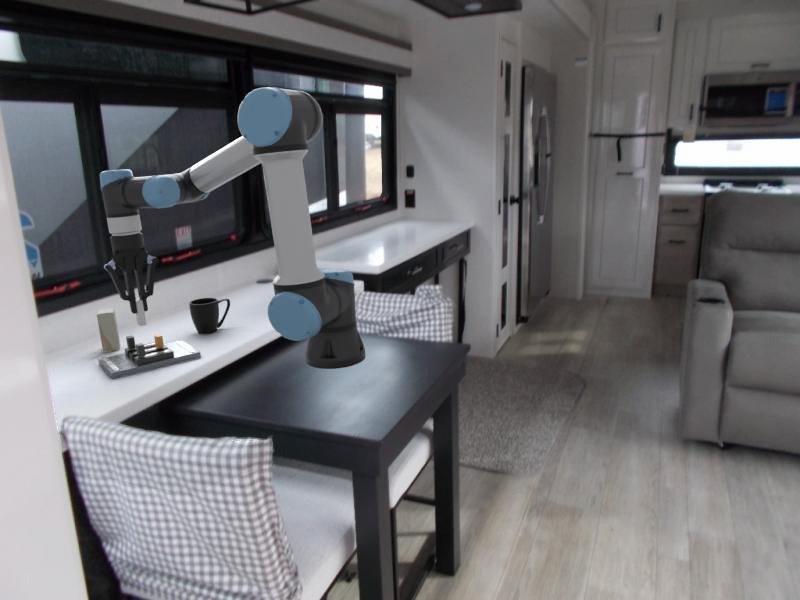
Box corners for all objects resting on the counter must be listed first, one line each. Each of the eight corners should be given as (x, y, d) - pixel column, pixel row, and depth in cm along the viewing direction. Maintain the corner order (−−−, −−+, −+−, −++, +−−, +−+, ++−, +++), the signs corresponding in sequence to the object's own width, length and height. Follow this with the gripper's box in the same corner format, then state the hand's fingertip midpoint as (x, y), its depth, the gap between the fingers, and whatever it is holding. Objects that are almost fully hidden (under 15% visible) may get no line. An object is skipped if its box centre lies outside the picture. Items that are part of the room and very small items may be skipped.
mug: (237, 329, 188) (234, 298, 185) (198, 337, 181) (194, 306, 179) (227, 323, 194) (224, 294, 192) (189, 331, 188) (185, 301, 185)
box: (104, 347, 176) (97, 309, 173) (120, 345, 178) (114, 307, 175) (102, 352, 171) (96, 314, 169) (119, 350, 173) (113, 312, 170)
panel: (200, 357, 164) (197, 334, 162) (112, 378, 151) (108, 354, 149) (183, 345, 174) (180, 323, 173) (99, 364, 162) (94, 341, 160)
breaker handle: (163, 346, 163) (162, 335, 162) (158, 347, 162) (156, 336, 161) (161, 344, 165) (159, 334, 164) (155, 346, 164) (154, 335, 163)
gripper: (148, 228, 160) (163, 316, 166) (94, 235, 153) (111, 327, 158) (157, 230, 154) (172, 321, 160) (101, 238, 147) (119, 333, 153)
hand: (142, 324), depth 159 cm, fingers closed
